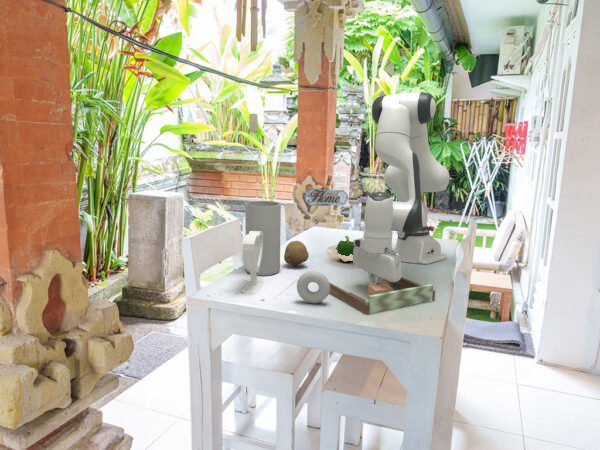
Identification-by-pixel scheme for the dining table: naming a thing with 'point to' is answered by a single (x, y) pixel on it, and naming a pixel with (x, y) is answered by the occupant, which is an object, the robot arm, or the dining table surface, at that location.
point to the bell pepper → (345, 247)
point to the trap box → (387, 296)
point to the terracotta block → (378, 289)
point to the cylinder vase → (266, 232)
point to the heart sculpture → (253, 259)
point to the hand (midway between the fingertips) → (375, 287)
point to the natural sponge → (295, 253)
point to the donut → (317, 278)
